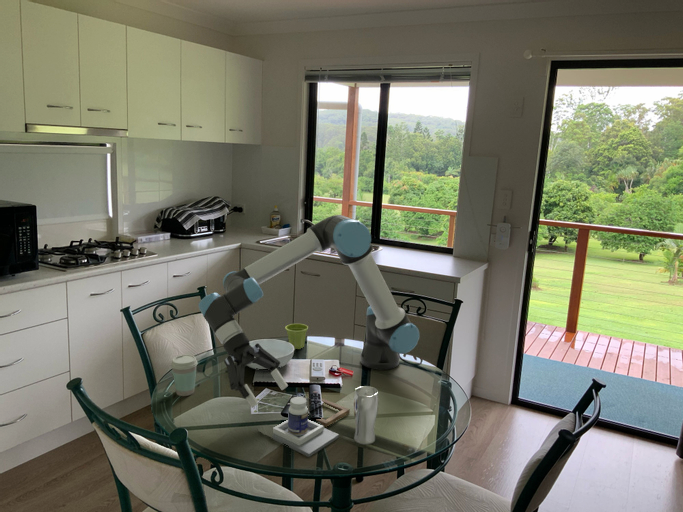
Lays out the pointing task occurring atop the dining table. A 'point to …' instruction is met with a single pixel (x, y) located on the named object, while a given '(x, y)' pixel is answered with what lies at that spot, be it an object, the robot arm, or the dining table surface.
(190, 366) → the coffee cup
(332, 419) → the wooden picture frame
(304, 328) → the plant pot
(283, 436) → the dock
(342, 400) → the dining table surface
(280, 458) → the dining table surface
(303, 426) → the pill bottle
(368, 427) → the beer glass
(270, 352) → the serving bowl
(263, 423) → the dining table surface
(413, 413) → the dining table surface
